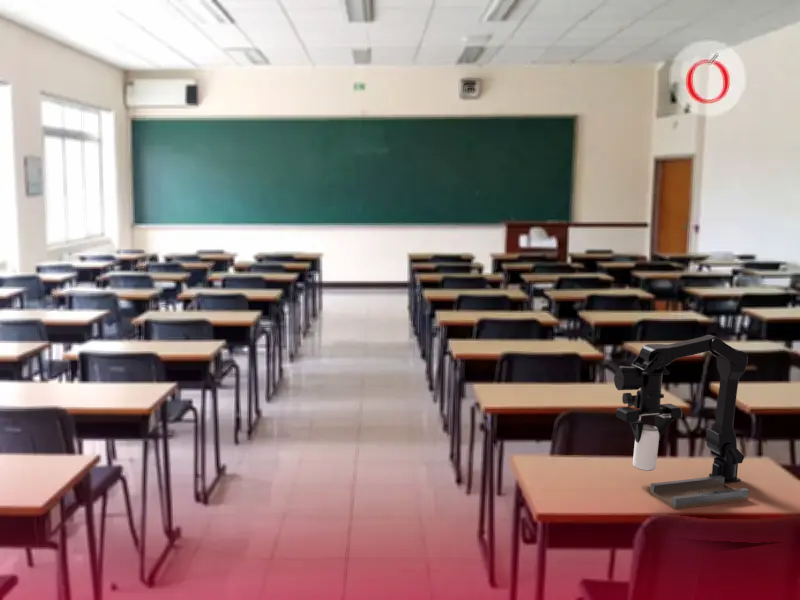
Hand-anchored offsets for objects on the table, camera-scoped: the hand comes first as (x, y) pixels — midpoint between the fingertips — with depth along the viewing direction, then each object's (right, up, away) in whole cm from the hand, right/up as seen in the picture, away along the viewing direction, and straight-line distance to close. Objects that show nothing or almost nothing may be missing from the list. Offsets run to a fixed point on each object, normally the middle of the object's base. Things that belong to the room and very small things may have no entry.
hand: (647, 441), depth 218 cm
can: (-1, -8, +1) cm, 8 cm away
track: (+12, -14, -7) cm, 20 cm away
